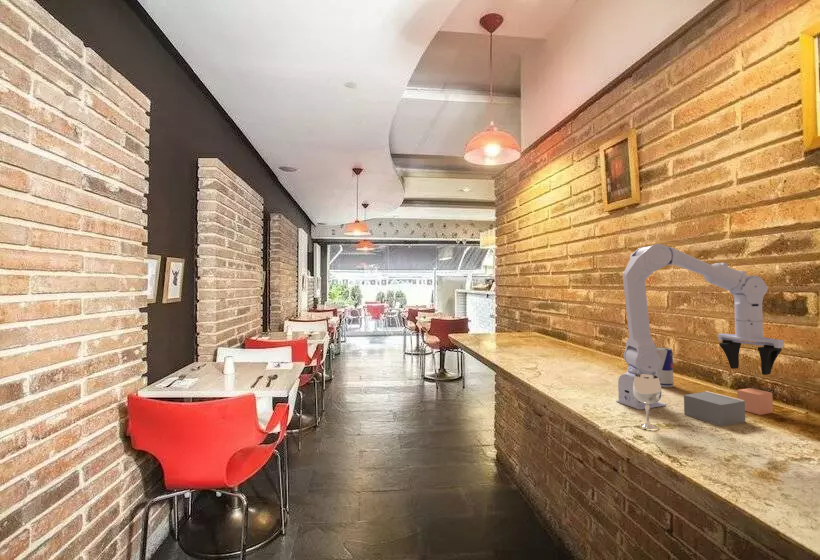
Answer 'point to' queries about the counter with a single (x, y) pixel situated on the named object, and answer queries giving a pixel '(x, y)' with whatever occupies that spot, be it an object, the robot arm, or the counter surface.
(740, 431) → the counter surface
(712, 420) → the block
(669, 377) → the energy drink
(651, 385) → the wineglass
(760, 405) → the salmon pink cube
